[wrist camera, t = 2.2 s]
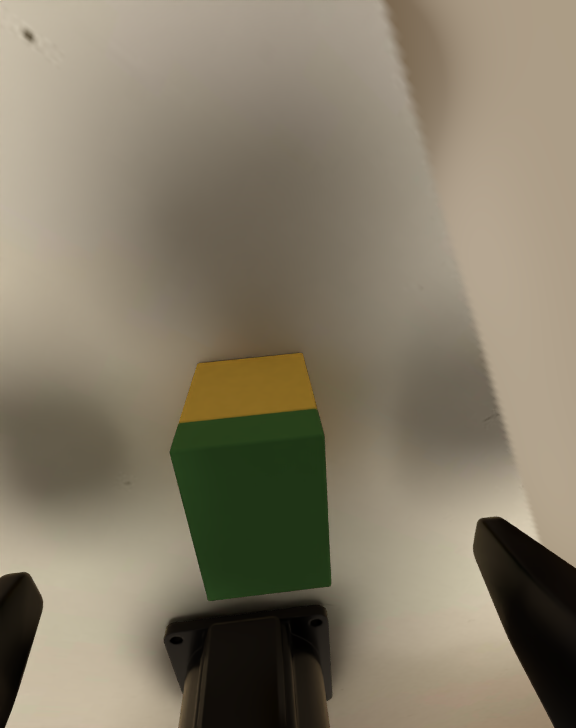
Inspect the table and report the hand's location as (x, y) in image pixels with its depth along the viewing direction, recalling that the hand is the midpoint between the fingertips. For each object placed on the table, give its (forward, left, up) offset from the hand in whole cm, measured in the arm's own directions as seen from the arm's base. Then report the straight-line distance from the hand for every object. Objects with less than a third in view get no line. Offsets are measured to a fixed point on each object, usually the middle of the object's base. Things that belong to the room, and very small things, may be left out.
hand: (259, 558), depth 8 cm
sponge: (0, 0, -5) cm, 5 cm away
